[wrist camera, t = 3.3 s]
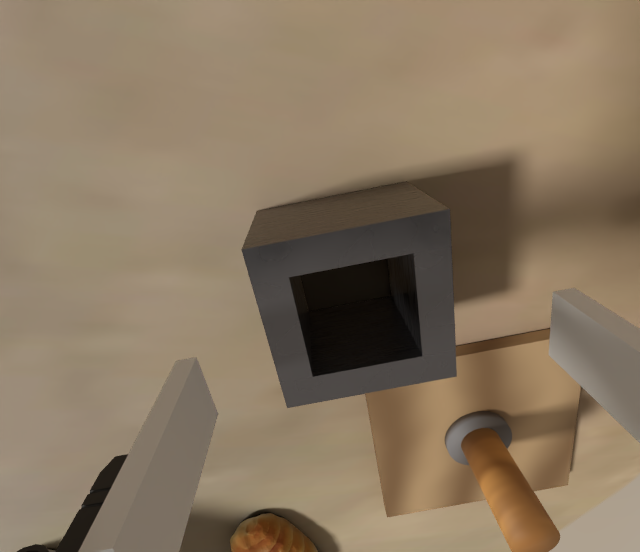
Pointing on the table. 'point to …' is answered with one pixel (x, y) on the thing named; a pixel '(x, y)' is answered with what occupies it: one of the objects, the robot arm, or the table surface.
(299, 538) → the pastry
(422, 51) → the table surface
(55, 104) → the table surface
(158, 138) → the table surface
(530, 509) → the keeper
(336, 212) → the hollow square block
